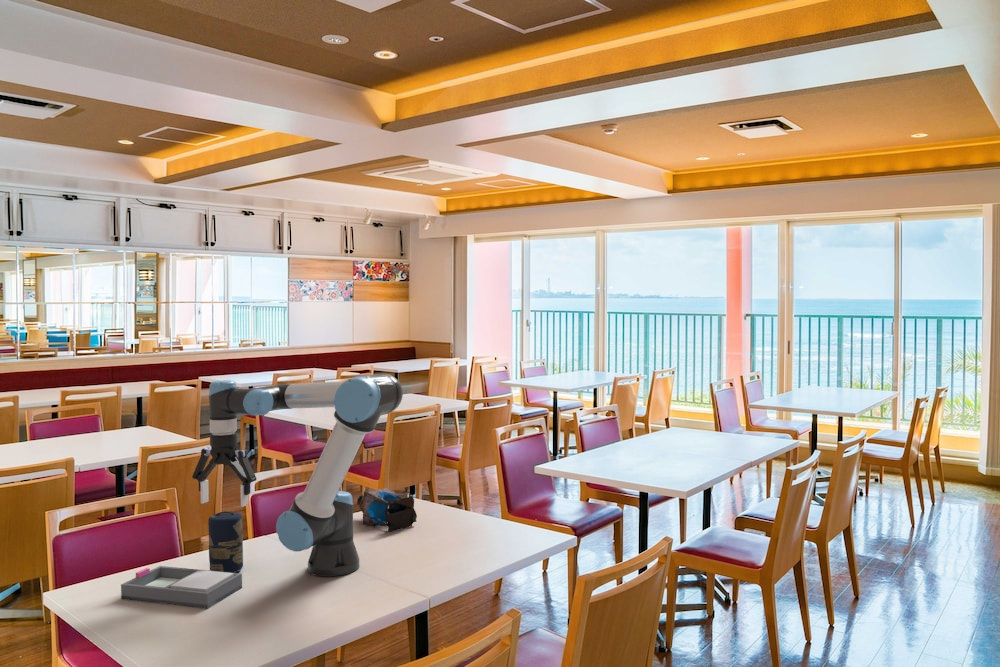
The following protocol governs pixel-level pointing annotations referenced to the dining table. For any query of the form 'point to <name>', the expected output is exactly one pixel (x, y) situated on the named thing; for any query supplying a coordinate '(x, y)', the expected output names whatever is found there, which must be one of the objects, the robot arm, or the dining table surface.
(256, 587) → the dining table surface
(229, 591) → the grey divided tray
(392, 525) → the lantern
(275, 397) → the robot arm
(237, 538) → the canister
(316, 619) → the dining table surface
